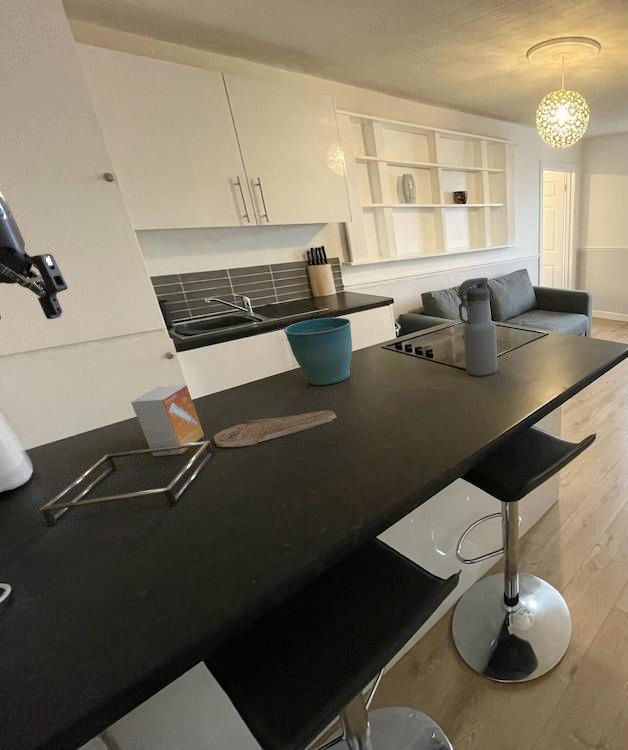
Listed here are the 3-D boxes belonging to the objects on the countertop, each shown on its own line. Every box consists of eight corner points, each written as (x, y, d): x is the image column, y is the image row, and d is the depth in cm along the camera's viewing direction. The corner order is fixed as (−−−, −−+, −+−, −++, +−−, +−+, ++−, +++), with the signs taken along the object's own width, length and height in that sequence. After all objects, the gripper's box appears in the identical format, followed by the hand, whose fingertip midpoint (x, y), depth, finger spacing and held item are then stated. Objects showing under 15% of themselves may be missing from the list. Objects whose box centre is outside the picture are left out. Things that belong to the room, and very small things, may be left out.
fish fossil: (329, 405, 107) (329, 401, 107) (339, 423, 100) (338, 419, 99) (213, 434, 94) (212, 429, 94) (214, 456, 87) (213, 452, 86)
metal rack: (47, 526, 68) (37, 509, 67) (112, 469, 83) (105, 454, 82) (175, 506, 72) (168, 489, 70) (215, 454, 87) (210, 439, 86)
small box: (182, 454, 88) (161, 400, 83) (152, 456, 87) (129, 402, 82) (205, 435, 95) (187, 384, 90) (177, 437, 95) (157, 386, 90)
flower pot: (286, 381, 125) (273, 327, 118) (341, 364, 137) (331, 314, 131) (315, 395, 114) (301, 337, 107) (371, 375, 126) (362, 322, 120)
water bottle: (473, 379, 120) (467, 283, 109) (459, 369, 128) (452, 279, 117) (503, 372, 125) (500, 279, 114) (488, 363, 132) (483, 275, 122)
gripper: (51, 215, 67) (89, 312, 74) (-56, 216, 65) (-7, 316, 71) (12, 216, 61) (57, 322, 67) (-110, 217, 58) (-51, 328, 64)
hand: (24, 319), depth 69 cm, fingers open, 8 cm apart
